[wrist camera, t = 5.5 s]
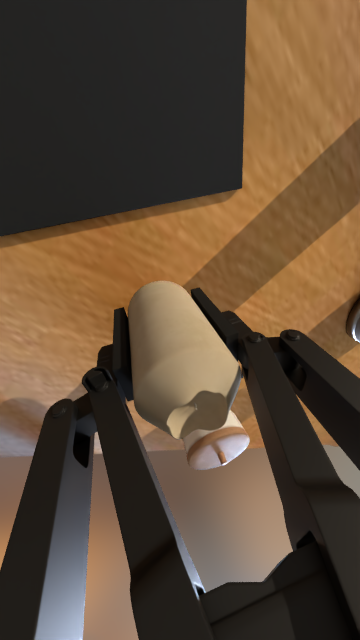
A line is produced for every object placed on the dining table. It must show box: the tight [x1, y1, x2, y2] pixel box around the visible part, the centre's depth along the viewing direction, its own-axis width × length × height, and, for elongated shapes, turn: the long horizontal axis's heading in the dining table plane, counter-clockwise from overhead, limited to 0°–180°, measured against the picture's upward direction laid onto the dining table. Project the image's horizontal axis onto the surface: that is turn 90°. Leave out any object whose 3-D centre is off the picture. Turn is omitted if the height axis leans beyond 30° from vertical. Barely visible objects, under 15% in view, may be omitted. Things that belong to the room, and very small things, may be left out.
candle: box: [128, 281, 241, 440], centre depth 13 cm, size 6×6×10 cm
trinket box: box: [183, 410, 249, 470], centre depth 34 cm, size 11×11×9 cm
